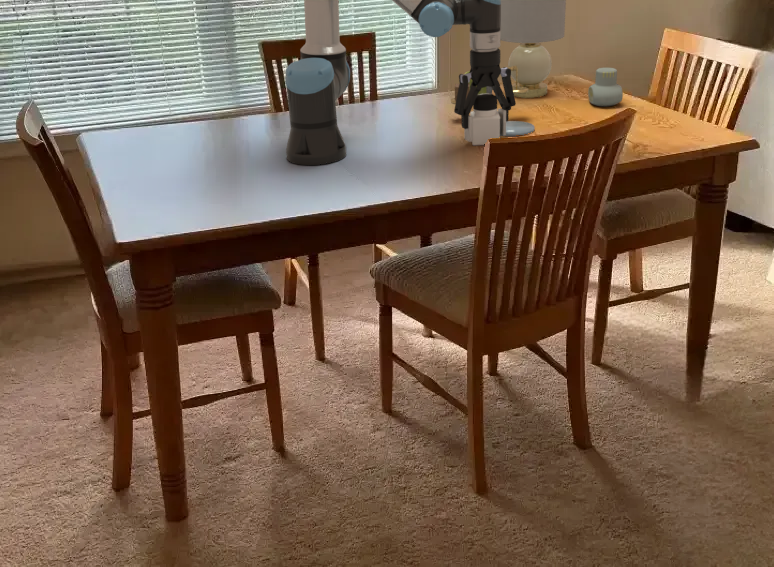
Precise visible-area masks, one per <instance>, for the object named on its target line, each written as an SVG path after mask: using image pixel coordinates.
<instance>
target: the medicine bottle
mask: <svg viewBox="0 0 774 567" xmlns="http://www.w3.org/2000/svg"><path fill="white" fill-rule="evenodd" d="M472 110H473V111H472ZM472 110H471V112H470V114H469V115H470V116H472V142H471V145H472V146H485V145H484V144H485V143H486V142H487V140H488V139H490V138H499V137H500V138H501V136H500V119H501V118H500V115H499V113H498V100H497V97H496V95H495V94H494V93H492V94H479V95H477V97H476V100H475V102H474V105H473V107H472Z"/></svg>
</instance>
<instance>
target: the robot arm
mask: <svg viewBox="0 0 774 567" xmlns="http://www.w3.org/2000/svg"><path fill="white" fill-rule="evenodd" d="M391 1H392V2H393V3H394V4H396V5H397V6H398V7H399V8H400V9H401V10H403V11H404V12H405V13H406V14H408V15H409V16H410V17H411V18H412V19H413V20H414V21H415V22H417V24H418V25H419V27H420V30H421V31H422V32H423V34H425V35H426V36H428V37H431V38H439V37H442V36H444V35H446V34H447V33H448V32H450V31H451V29H452V28H453V26H457V25H458V26H459V25H461V26H462V25H463V26H464V25H469V48H470V51H469V64H470V70H469V71H470V72H469V73H467V74H465V73H464V74H463V73H459V75H458V82H459V83H458V84H459V89H458V94H457V99H456V104H454V109H453V110H454V111H453V112H454V114H457V115H458V116H460V117H461V127H462V129H463V130H464V132H463V133H464V140H465V141H467V142H469V143H472V116H470V112H471V111H472V110H473V105H474V102H475V100H476V97H477V95H478V93H479V92H480V91H481V88H484V87H487V86H489V87H492V89H493V90H492V92H493V94H494V95H495V96H496V97H497V103H499V106H500V107H501V108H497V111H498V113H499V115H500V118H501V119H500V134H501V135H503V136H502V137H506V136H505V135H506V122H507V121H509V117H510V116H509V114H510V113H509V112H510V110H512V107H515V106H516V105H517V104H516V98H515V96H514V92H513V87H512V84H513V83H512V76H511V69H509V68H506V66H503V67H502V68H501V66H500V64H501V49H500V47H501V40H500V27H501V0H391ZM303 2H304V3H303V4H304V8H303V10H304V25H305V26H304V27H305V28H304V29H305V44H303V46H301V48H300V49H299V50H300V59H299V60H295V61H293V62H291V63H290V64H289V65H288V66H287V67H286V69H285V77H284V81H285V82H284V84H285V86H286V87H285V88H286V93H287V94H286V95H287V105H288V114H289V116H288V117H289V123H290V129H289V134H288V139H287V143H286V144H287V145H286V149H285V154H286V160H287V161H288V162H289V161H290V162H289V163H291V162H292V164H295V165H300V166H317V165H318V166H320V164H321V165H327V164H331V162H332V163H335V162H338V161H341V160H343V159H344V158H345V157H346V156H347V146H346V143H345V141H344V138H343V135H342V132H341V131H340V128H339V126H338V117H337V116H338V115H337V107H336V106H337V104H336V103H337V102H336V101H337V100H338V99H339V98H340V97H341V96H342V95H343V94H344V93H345V92H346V90H347V89H348V86H349V83H350V80H351V69H350V66H349V63H348V62H347V48H346V46H344V45H343V44H342V43H341V41H340V38H341V37H340V10H339V6H340V3H339V0H303ZM500 76H501V81H502V86H503V90H502V86H501V84H500V82H499V80H498V78H499V77H500ZM470 78H471V79H472V80H473V81H472V83H471V86H470V91H469V93H468V95H467V90H468V82H470ZM476 86H477V87H476ZM466 95H467V98H466ZM326 163H327V164H326Z"/></svg>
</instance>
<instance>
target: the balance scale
mask: <svg viewBox="0 0 774 567" xmlns="http://www.w3.org/2000/svg"><path fill="white" fill-rule="evenodd" d="M505 67H506V66H505ZM506 68H509V69H511V71H514V70H516V81H515V83H516V86H513V92H514V94H523V93H527V92H528V88H527V87H522V86H517V74H518V68H517V66H511V67H508V66H507V67H506ZM470 79H471V78H470ZM459 84H460V83H455V85H454V97H453V98H451V99H450V104H453V105H455V104H456V99H457V94H458V89H459ZM469 91H470V83H468V90H467V95H468V93H469ZM486 94H493V90H492V87H489V86H487V87H486ZM467 95H466V98H467Z"/></svg>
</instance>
